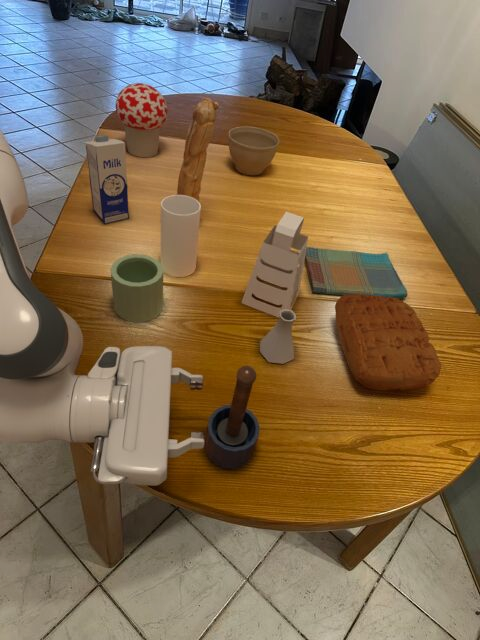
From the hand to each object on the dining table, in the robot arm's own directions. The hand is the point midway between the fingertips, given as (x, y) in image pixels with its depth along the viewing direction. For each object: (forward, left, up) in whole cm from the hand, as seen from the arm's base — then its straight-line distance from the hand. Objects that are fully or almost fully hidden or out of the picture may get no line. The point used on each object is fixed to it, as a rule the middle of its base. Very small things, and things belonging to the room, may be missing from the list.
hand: (203, 409), depth 59 cm
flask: (+24, +10, -11) cm, 29 cm away
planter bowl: (+67, +77, -11) cm, 103 cm away
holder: (+4, -2, -11) cm, 12 cm away
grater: (+33, +23, -11) cm, 42 cm away
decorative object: (+40, +100, -11) cm, 108 cm away
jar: (+6, +34, -11) cm, 36 cm away
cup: (+20, +42, -11) cm, 48 cm away
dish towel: (+57, +20, -11) cm, 62 cm away
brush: (+5, -2, -10) cm, 12 cm away
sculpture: (+33, +58, -11) cm, 68 cm away
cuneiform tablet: (+42, -1, -11) cm, 44 cm away
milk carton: (+15, +68, -11) cm, 70 cm away
